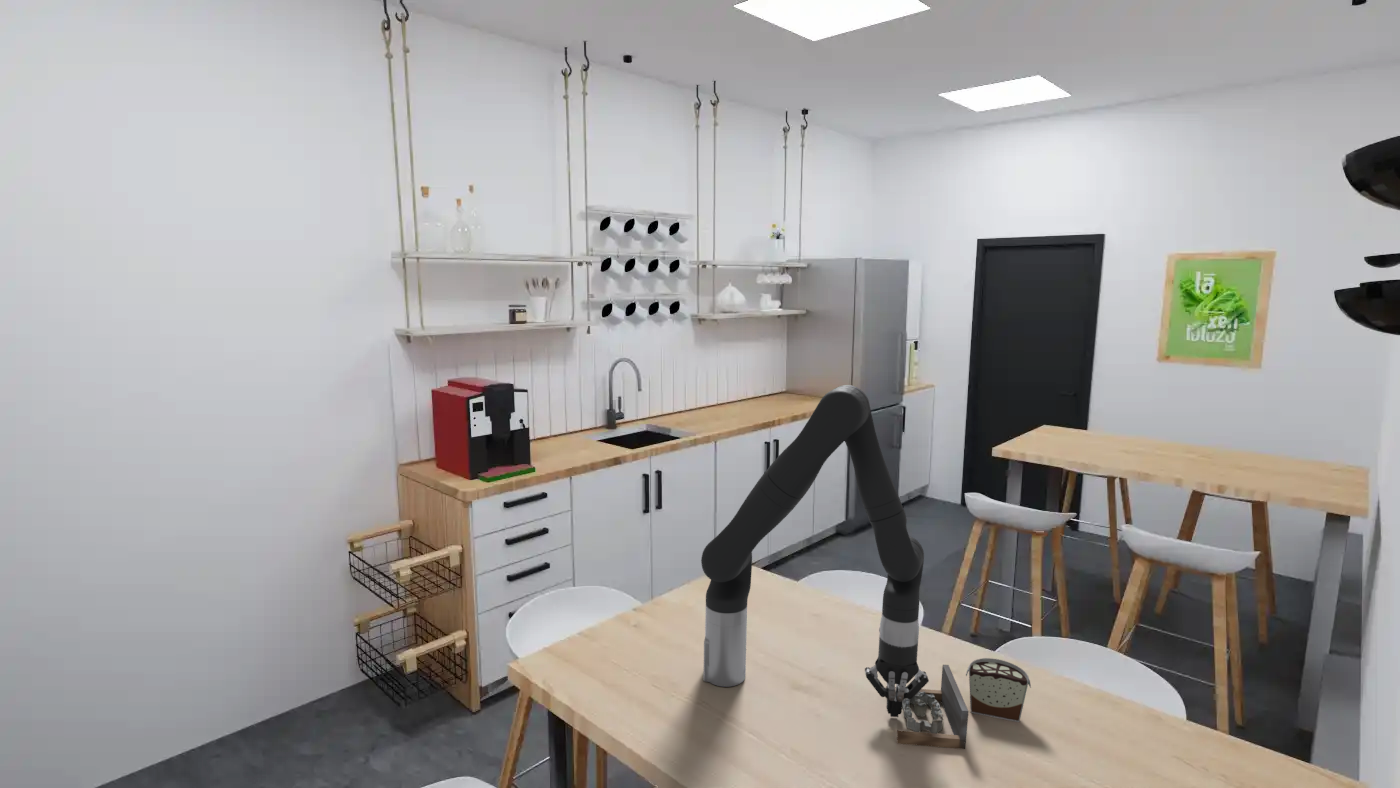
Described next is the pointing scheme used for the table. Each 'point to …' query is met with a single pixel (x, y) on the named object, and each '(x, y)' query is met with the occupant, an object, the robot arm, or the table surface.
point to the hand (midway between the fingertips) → (893, 714)
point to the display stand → (954, 713)
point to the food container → (997, 688)
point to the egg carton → (923, 713)
